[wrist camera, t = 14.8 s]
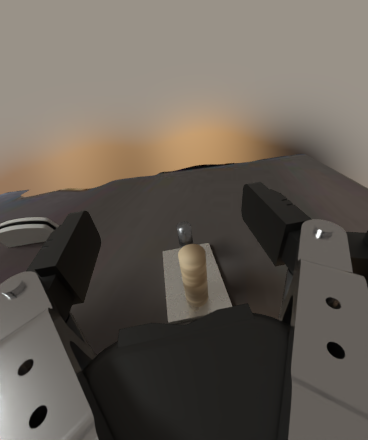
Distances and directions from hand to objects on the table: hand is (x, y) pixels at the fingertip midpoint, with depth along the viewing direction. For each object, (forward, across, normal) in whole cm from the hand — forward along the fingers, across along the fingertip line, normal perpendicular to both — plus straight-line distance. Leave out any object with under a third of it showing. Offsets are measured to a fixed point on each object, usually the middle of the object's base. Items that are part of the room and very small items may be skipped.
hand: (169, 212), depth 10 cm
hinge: (+43, +43, +30) cm, 68 cm away
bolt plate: (+18, -2, +30) cm, 35 cm away
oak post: (+13, -2, +29) cm, 32 cm away
